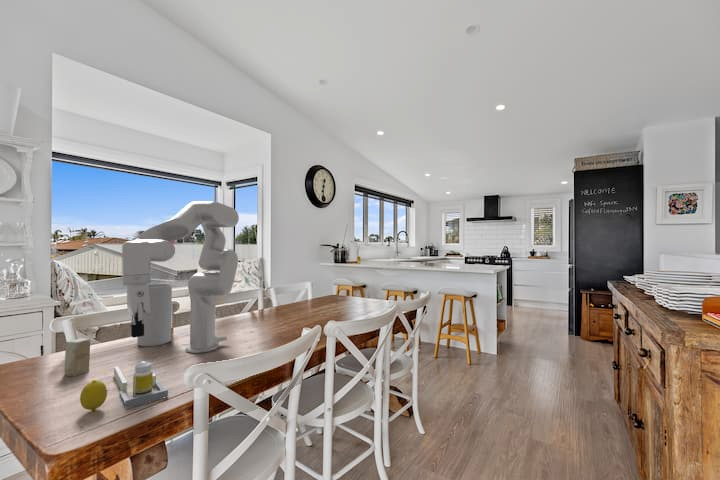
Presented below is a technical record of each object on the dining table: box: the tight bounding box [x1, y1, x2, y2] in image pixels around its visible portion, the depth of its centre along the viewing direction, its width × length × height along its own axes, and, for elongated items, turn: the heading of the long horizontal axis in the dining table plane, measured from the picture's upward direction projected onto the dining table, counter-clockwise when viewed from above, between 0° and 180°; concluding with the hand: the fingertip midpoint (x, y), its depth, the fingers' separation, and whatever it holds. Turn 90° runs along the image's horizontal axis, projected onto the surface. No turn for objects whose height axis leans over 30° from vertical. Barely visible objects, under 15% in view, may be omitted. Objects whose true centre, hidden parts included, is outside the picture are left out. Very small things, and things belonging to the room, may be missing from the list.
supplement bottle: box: [132, 362, 154, 397], centre depth 98 cm, size 5×5×8 cm
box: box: [63, 337, 91, 377], centre depth 112 cm, size 5×4×11 cm
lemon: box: [79, 379, 108, 412], centre depth 88 cm, size 6×6×8 cm
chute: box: [113, 360, 157, 394], centre depth 107 cm, size 8×17×3 cm, turn 43°
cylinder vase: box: [136, 283, 173, 347], centre depth 147 cm, size 12×12×25 cm
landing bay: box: [119, 381, 169, 409], centre depth 96 cm, size 10×10×2 cm
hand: (137, 336), depth 107 cm, fingers closed
